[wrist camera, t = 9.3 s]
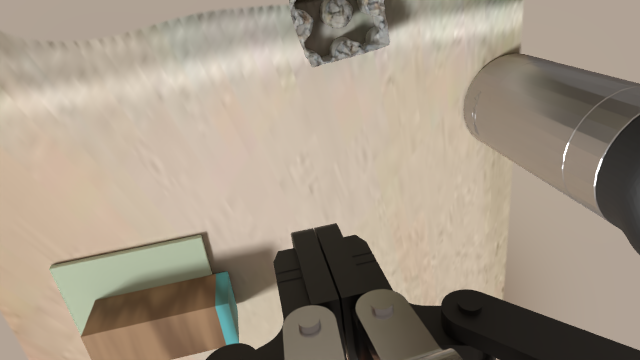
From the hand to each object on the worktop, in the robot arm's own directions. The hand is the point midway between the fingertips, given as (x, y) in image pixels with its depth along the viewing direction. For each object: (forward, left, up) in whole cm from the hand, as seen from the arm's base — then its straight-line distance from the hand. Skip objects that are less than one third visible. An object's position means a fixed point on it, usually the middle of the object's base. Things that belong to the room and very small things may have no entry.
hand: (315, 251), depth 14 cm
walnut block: (+6, +21, -24) cm, 32 cm away
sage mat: (+15, +21, -27) cm, 37 cm away
